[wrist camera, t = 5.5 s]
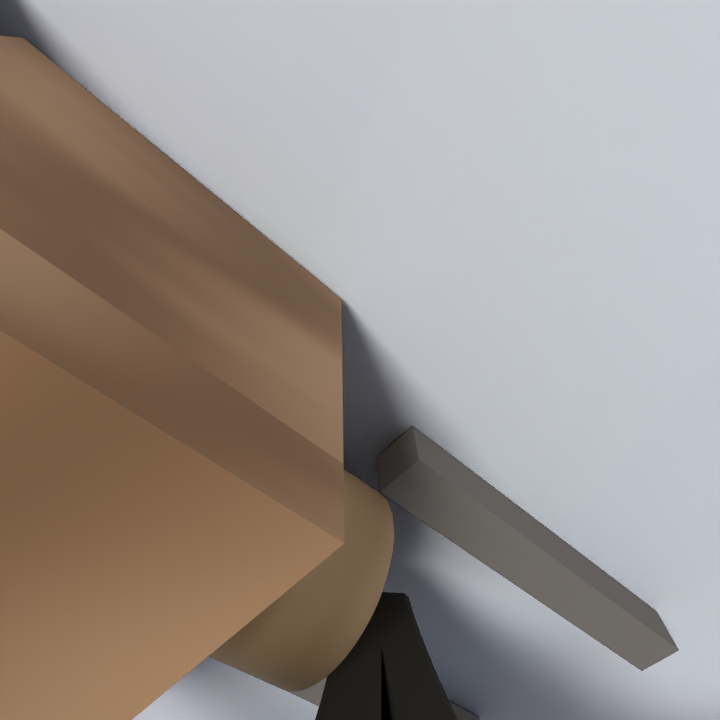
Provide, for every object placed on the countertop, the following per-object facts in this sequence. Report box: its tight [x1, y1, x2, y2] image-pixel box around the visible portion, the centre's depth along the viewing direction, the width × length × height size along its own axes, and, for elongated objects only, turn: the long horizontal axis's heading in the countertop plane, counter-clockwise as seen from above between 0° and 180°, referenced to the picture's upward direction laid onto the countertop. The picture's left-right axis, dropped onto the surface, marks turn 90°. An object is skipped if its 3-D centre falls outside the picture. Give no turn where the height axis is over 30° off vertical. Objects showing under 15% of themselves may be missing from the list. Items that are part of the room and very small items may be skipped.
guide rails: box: [286, 426, 679, 720], centre depth 13 cm, size 8×7×1 cm
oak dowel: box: [209, 470, 394, 692], centre depth 9 cm, size 7×4×4 cm, turn 49°
